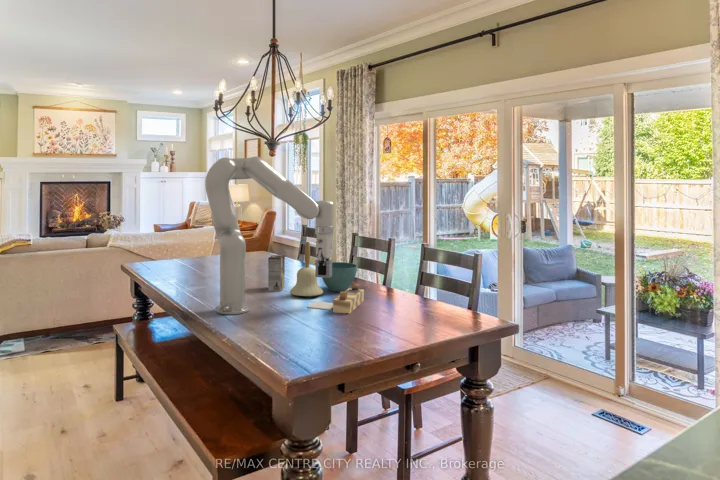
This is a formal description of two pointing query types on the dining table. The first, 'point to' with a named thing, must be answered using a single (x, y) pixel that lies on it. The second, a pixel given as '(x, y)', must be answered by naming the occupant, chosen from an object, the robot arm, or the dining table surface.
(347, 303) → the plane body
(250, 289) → the dining table surface
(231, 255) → the robot arm
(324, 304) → the mat
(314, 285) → the handbell
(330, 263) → the tall grey box
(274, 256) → the coffee box
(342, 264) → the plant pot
